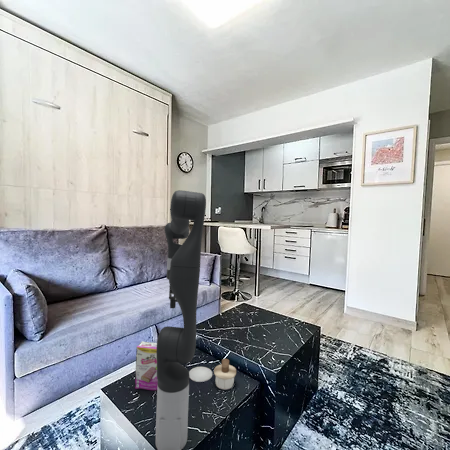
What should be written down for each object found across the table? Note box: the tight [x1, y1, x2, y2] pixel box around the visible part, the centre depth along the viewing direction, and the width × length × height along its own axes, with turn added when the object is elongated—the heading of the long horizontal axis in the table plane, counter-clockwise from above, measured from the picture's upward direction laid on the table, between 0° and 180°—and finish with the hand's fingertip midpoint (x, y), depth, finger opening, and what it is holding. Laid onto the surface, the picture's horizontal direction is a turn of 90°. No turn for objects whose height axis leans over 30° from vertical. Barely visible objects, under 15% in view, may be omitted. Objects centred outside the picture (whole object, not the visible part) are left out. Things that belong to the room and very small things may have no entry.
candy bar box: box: [134, 341, 158, 392], centre depth 96 cm, size 11×5×16 cm, turn 84°
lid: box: [213, 358, 237, 380], centre depth 100 cm, size 9×9×5 cm
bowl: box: [214, 376, 235, 390], centre depth 100 cm, size 7×7×5 cm
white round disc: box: [189, 366, 213, 383], centre depth 105 cm, size 10×10×1 cm
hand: (174, 304), depth 109 cm, fingers open, 8 cm apart
